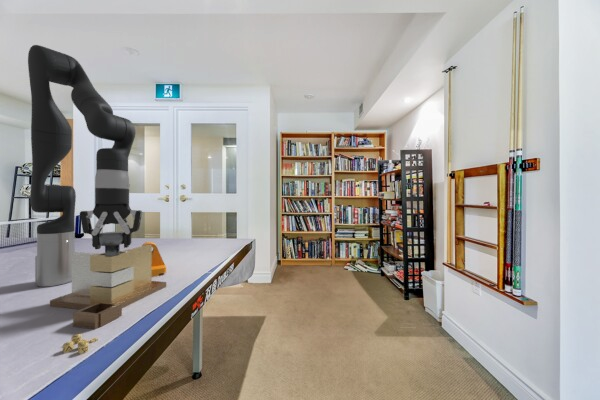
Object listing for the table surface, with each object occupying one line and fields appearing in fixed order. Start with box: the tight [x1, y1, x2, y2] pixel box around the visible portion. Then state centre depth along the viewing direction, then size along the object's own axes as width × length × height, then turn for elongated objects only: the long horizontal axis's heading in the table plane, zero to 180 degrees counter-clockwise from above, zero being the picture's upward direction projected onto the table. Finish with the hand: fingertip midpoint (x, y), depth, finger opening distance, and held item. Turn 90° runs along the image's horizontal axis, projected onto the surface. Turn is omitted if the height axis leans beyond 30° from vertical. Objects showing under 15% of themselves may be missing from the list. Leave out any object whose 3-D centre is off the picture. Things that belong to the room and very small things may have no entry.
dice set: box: [62, 333, 99, 355], centre depth 48 cm, size 5×5×2 cm
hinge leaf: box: [71, 251, 134, 294], centre depth 69 cm, size 17×7×11 cm, turn 79°
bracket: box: [141, 241, 167, 278], centre depth 94 cm, size 11×7×12 cm, turn 125°
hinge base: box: [49, 245, 167, 330], centre depth 70 cm, size 24×26×14 cm
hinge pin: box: [98, 231, 125, 256], centre depth 68 cm, size 6×6×14 cm
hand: (112, 247), depth 68 cm, fingers closed on hinge pin, 6 cm apart
